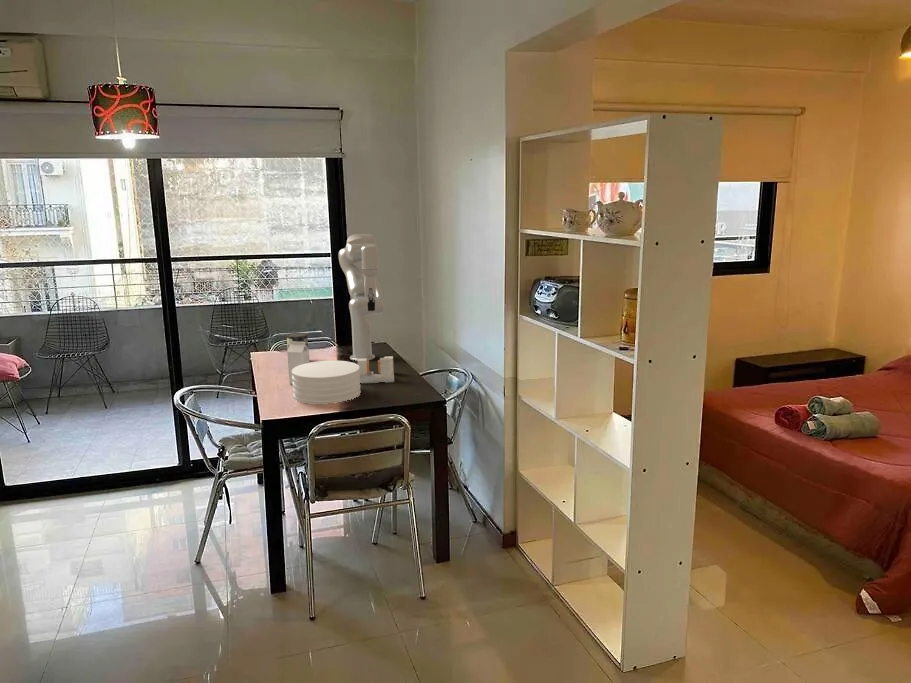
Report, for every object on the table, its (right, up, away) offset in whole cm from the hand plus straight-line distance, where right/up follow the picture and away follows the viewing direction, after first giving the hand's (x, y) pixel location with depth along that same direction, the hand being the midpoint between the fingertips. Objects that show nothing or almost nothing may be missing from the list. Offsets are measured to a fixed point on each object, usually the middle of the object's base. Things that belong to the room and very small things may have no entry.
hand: (371, 308), depth 319 cm
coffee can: (-40, -26, +26) cm, 54 cm away
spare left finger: (+8, -31, +1) cm, 32 cm away
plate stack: (-15, -38, -30) cm, 51 cm away
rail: (-1, -33, -11) cm, 35 cm away
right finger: (-3, -31, -11) cm, 33 cm away
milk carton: (-31, -34, -12) cm, 47 cm away
